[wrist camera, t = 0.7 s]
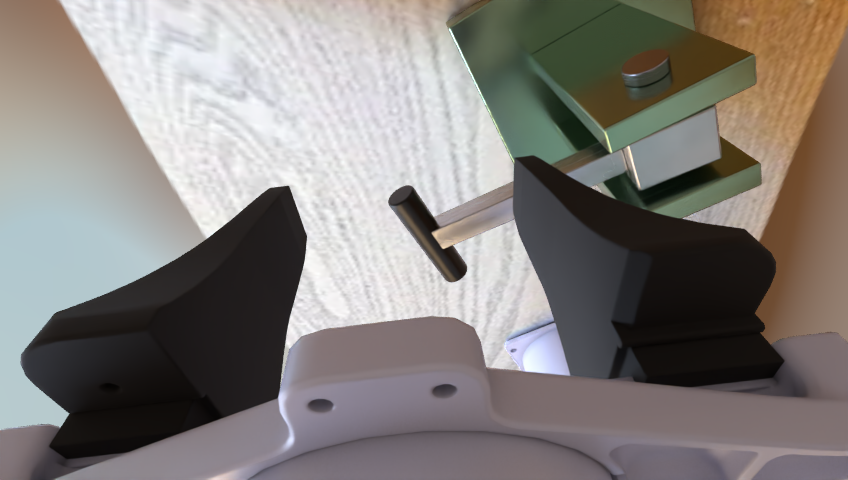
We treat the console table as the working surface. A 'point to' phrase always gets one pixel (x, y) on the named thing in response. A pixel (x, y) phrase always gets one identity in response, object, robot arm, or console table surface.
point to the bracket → (606, 86)
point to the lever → (641, 161)
